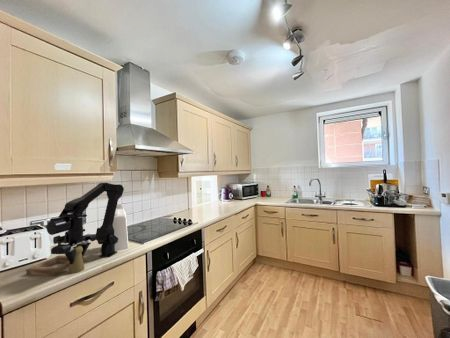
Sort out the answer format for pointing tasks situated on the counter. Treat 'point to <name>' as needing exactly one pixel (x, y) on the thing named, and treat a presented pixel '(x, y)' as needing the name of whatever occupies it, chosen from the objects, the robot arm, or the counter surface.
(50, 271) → the socket block
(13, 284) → the counter surface
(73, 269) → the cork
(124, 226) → the milk
